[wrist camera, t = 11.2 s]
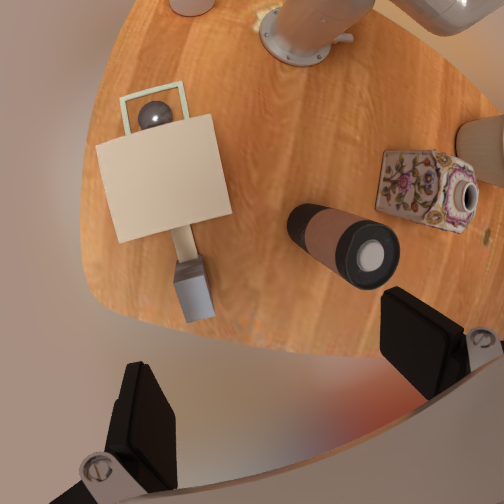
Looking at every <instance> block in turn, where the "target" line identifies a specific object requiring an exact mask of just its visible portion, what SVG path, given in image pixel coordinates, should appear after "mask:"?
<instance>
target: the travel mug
mask: <svg viewBox="0 0 504 504" xmlns="http://www.w3.org/2000/svg"><path fill="white" fill-rule="evenodd" d="M287 229H288V233H289V235H290V237H291V239H292V240H293V241H294V242H295V243H297V244H298V245H299V246H300V247H301V248H303V249H304V250H305V251H306V252H307V253H309V254H310V255H311V256H312V257H314V258H315V259H316V260H318V261H319V262H321V263H322V264H324V265H325V266H326V267H328V268H329V269H331V270H332V271H334V272H335V273H336V274H338V275H339V276H341V277H342V278H343V279H345V280H346V281H348V282H349V283H350V284H352V285H353V286H355V287H357V288H359V289H361V290H373V289H376V288H379V287H380V286H382V285H384V284H385V283H386V282H387V281H388V280H389V279H390V278H391V277H392V275H393V274H394V272H395V270H396V268H397V266H398V263H399V258H400V244H399V241H398V238H397V236H396V234H395V233H394V231H393V230H392V229H390V228H389V227H388V226H386V225H383V224H381V223H378V222H375V221H372V220H369V219H366V218H363V217H360V216H356V215H353V214H350V213H347V212H344V211H341V210H338V209H334V208H329V207H324V206H320V205H315V204H303V205H300V206H298V207H297V208H295V209H294V210H293V211H292V213H291V214H290V216H289V218H288V222H287Z"/></svg>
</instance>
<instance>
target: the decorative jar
mask: <svg viewBox="0 0 504 504" xmlns="http://www.w3.org/2000/svg"><path fill="white" fill-rule="evenodd" d="M478 198H479V189H478V184H477V179H476V176H475V173H474V169H473V167H472V165H470V164H469V163H467V162H465V161H464V160H463V159H460V158H457V157H454V156H452V155H447V154H446V153H443V152H438V151H436V150H391V151H384V155H383V163H382V169H381V176H380V182H379V189H378V196H377V201H376V206H375V209H376V210H377V211H380V212H383V213H386V214H390V215H393V216H397V217H401V218H404V219H407V220H410V221H411V222H414V223H417V224H424V225H428V226H431V227H434V228H437V229H440V230H445V231H451V232H454V233H458V234H460V233H462V232H463V231H464V230H465V229H467V227H468V225H469V224H470V223H471V221H472V220H473V219H474V217H475V214H476V209H477V204H478Z"/></svg>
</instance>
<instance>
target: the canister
mask: <svg viewBox="0 0 504 504" xmlns="http://www.w3.org/2000/svg"><path fill="white" fill-rule="evenodd" d="M456 150H457V157H458V158H460V159H463V160H464V161H465V162H467V163H469V164H470V165H472V167H473V169H474V173H475V176H476V179H477V180H479V181H482V182H485V183H488V184H492V185H495V186H498V187H501V188H504V115H499V116H493V117H488V118H483V119H478V120H474V121H470V122H467V123H466V124H464V125H463V126H462V127H461V128H460V130H459V131H458V134H457V140H456Z"/></svg>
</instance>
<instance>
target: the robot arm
mask: <svg viewBox="0 0 504 504" xmlns="http://www.w3.org/2000/svg"><path fill="white" fill-rule="evenodd" d="M390 1H391V2H392V3H394V4H395V5H396V6H398V7H399V8H400V9H401V10H403V11H404V12H405V13H406V14H408V15H409V16H410V17H411V18H412V19H414V20H415V21H416V22H417V23H419V24H420V25H421V26H422V27H424V28H425V29H426V30H428V31H429V32H431V33H433V34H435V35H438V36H444V37H446V36H452V35H455V34H458V33H460V32H462V31H464V30H466V29H467V28H469V27H471V26H472V25H474V24H475V23H477V22H478V21H480V20H481V19H483V18H484V17H486V16H487V15H489V14H490V13H492V12H493V11H495V10H496V9H498V8H499V7H501V6H503V5H504V0H390ZM374 3H375V0H286V1H285V3H284V4H283V6H282V7H281V8H277V9H275V10H272V11H271V12H269V13H268V14H267V15H266V16H265V17H264V19H263V21H262V22H261V26H260V37H261V40H262V43H263V45H264V46H265V48H266V49H267V50H268V51H269V52H270V53H271V54H272V55H273V56H274V57H275V58H277V59H278V60H280V61H282V62H284V63H286V64H289V65H293V66H297V67H307V66H312V65H316V64H318V63H319V62H321V61H322V60H323V59H325V58H326V56H327V55H328V54H329V52H330V49H331V44H333V43H334V44H336V43H338V42H343V43H352V42H353V40H354V38H353V35H352V34H350V33H343V32H344V31H346V30H347V29H348V28H350V27H351V26H352V25H354V24H355V23H356V22H358V21H359V20H360V19H362V18H363V17H364V16H366V15H367V14H368V13H369V12H370V11H371V9H372V8H373V6H374ZM265 36H266V37H265ZM287 59H288V60H287ZM463 332H464V328H463V327H461V326H460V325H458V324H457V323H455V322H454V321H452V320H451V319H449V318H448V317H446V316H444V315H443V314H441V313H440V312H438V311H437V310H435V309H433V308H432V307H430V306H429V305H427V304H426V303H424V302H422V301H421V300H419V299H418V298H416V297H414V296H413V295H411V294H410V293H408V292H406V291H405V290H403V289H401V288H400V287H398V286H395V287H393V288H390V289H388V290H385V291H384V293H383V295H382V296H381V325H380V351H381V353H382V355H383V356H384V357H385V358H386V359H387V360H388V361H389V362H390V363H391V364H392V365H393V366H394V367H395V368H396V369H397V370H398V371H399V372H400V373H401V374H402V375H403V376H404V377H405V378H406V379H407V380H408V381H409V382H410V383H411V384H412V385H413V386H414V387H415V388H416V389H417V390H418V391H419V392H420V393H421V394H422V395H423V396H424V397H425V398H426V399H427V400H429V401H428V402H426V403H424V404H423V405H421V406H420V407H418V408H416V409H415V410H413V411H411V412H409V413H408V414H406V415H404V416H402V417H400V418H399V419H397V420H395V421H393V422H391V423H389V424H387V425H385V426H383V427H382V428H380V429H378V430H376V431H374V432H372V433H370V434H367V435H365V436H363V437H361V438H359V439H356V440H354V441H352V442H350V443H347V444H345V445H343V446H340V447H338V448H335V449H333V450H330V451H328V452H325V453H323V454H320V455H317V456H314V457H312V458H309V459H306V460H303V461H300V462H297V463H294V464H291V465H288V466H285V467H281V468H278V469H274V470H271V471H267V472H263V473H260V474H256V475H252V476H248V477H243V478H239V479H234V480H229V481H224V482H219V483H214V484H209V485H203V486H196V487H190V488H182V489H177V487H178V482H177V461H176V419H175V414H174V412H173V410H172V408H171V406H170V404H169V403H168V401H167V399H166V397H165V396H164V394H163V392H162V390H161V388H160V386H159V384H158V382H157V380H156V378H155V376H154V374H153V372H152V370H151V369H150V366H149V365H148V364H144V363H143V362H142V361H139V362H134V363H129V364H127V366H126V370H125V374H124V377H123V381H122V385H121V390H120V394H119V398H118V399H117V400H116V401H115V404H114V407H113V412H112V416H111V421H110V425H109V431H108V435H107V440H106V445H105V450H104V452H96V453H93V454H91V455H89V456H87V457H86V458H85V459H84V460H83V462H82V463H81V465H80V469H79V474H80V477H81V479H82V480H81V481H79V482H78V483H77V484H75V485H74V486H73V487H71V488H70V489H69V490H67V491H66V492H64V493H63V494H62V495H60V496H59V497H57V498H56V499H54V500H53V501H52V502H50V503H49V504H504V341H500V339H499V337H498V335H497V333H496V332H495V331H493V330H491V329H489V328H486V327H477V328H473V329H471V330H470V331H469V332H468V333H467V335H465V334H463ZM174 489H175V490H174Z"/></svg>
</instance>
